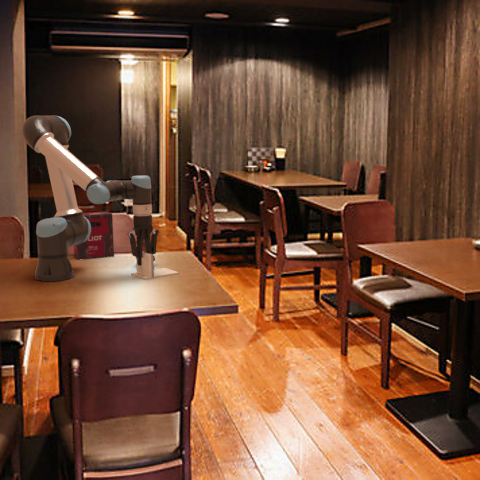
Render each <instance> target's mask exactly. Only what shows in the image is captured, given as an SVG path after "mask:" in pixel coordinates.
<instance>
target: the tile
mask: <svg viewBox="0 0 480 480" xmlns="http://www.w3.org/2000/svg"><path fill="white" fill-rule="evenodd" d="M153 255H154V254H150V253H146V252H143V251H142V257H143V258H144V274H142V273H139V265H138V264H137V263H136V272H137V273H138V274H141V275H144V276H147V277H154V269H155V268H154V267H155V265H154V264H155V263H154V262H153ZM135 259H136V260H137V257H135Z"/></svg>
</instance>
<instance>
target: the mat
mask: <svg viewBox="0 0 480 480" xmlns="http://www.w3.org/2000/svg"><path fill="white" fill-rule="evenodd" d="M179 274H180V272H179V271H175V270H173V269H170V268H167V267H162V268H154V277H147V276H144V275H141V274H138V273H137V271H135V272H131V274H130V275H131V276H134V277H136V278H139V279H142V280H144V281H145V280H151V279H158V278H162V277H168V276H173V275H179Z"/></svg>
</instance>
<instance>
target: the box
mask: <svg viewBox="0 0 480 480" xmlns="http://www.w3.org/2000/svg"><path fill="white" fill-rule="evenodd" d="M83 216H84V217H86V219H88V220H89V222H90V225H91V234H90V236H89V238H88V239H87V240H86V241H85V242H83V243H81V244H79V245H74V246H73V256H74V258H75V257H76V258H77V259H76V258H75V259H76V260H77V261H79V260H80V259H83V260H90V259H91V260H92V259H102V258H104V259H105V258H114V257H115V251H114V250H115V248H114V244H115V243H114V226H113V224H114V223H113V220H114V219H113V213H111V212H110V211H97V212H96V211H95V212H94V211H93V212H83ZM80 261H81V260H80Z"/></svg>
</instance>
